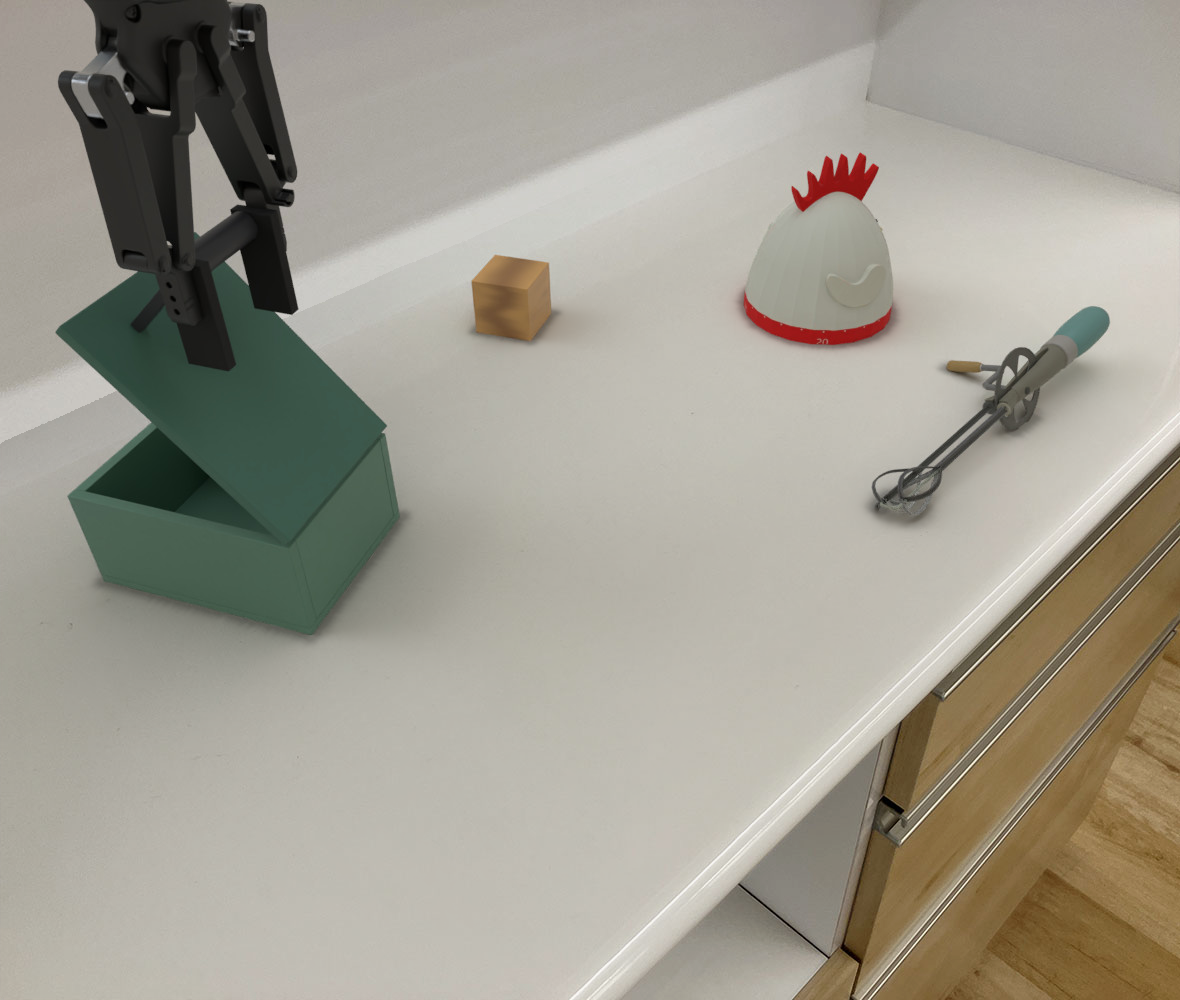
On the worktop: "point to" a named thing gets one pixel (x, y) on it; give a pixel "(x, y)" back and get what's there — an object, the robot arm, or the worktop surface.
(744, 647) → the worktop surface
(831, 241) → the kitchen timer
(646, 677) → the worktop surface
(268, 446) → the lunchbox lid
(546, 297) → the block
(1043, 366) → the whisk
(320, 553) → the lunchbox
